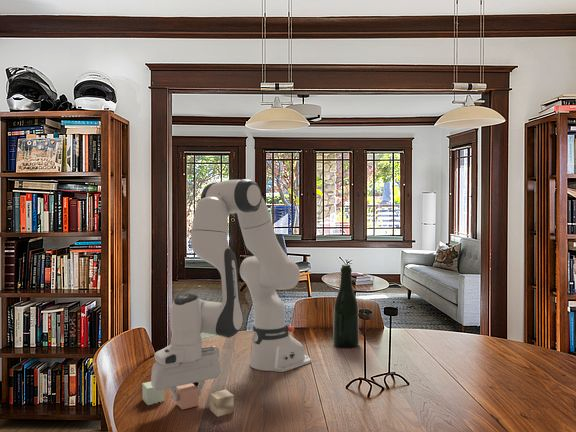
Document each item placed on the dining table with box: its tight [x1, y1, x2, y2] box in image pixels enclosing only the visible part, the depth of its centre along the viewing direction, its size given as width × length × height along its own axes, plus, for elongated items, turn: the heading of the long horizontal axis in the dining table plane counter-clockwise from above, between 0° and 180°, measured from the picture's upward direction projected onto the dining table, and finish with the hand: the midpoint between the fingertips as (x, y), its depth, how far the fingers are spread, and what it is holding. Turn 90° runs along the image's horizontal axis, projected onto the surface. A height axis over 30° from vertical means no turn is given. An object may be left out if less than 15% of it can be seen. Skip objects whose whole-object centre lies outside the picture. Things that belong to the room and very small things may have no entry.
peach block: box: [175, 383, 200, 410], centre depth 144 cm, size 5×5×5 cm
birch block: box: [209, 389, 235, 417], centre depth 141 cm, size 5×5×5 cm
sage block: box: [141, 381, 165, 406], centre depth 148 cm, size 5×5×5 cm
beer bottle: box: [332, 263, 360, 349], centre depth 202 cm, size 10×10×33 cm
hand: (187, 397), depth 144 cm, fingers closed on peach block, 5 cm apart
